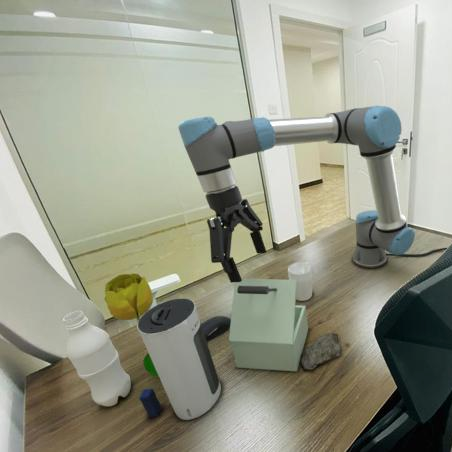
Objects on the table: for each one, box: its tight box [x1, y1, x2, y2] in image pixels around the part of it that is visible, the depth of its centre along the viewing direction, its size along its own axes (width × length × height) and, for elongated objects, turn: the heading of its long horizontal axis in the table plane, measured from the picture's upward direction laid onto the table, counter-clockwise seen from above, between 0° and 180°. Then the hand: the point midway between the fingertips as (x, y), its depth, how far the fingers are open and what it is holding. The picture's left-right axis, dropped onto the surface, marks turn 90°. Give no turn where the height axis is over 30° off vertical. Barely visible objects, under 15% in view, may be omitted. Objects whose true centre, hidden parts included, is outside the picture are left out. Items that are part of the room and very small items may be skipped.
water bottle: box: [62, 310, 132, 407], centre depth 59 cm, size 7×7×25 cm
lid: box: [228, 278, 297, 344], centre depth 63 cm, size 15×17×9 cm
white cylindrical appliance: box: [136, 297, 222, 421], centre depth 57 cm, size 11×10×26 cm
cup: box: [287, 261, 314, 302], centre depth 95 cm, size 9×9×12 cm
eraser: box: [139, 388, 162, 418], centre depth 58 cm, size 2×2×7 cm
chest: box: [229, 304, 309, 372], centre depth 74 cm, size 15×17×9 cm
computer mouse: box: [201, 315, 231, 342], centre depth 78 cm, size 12×17×4 cm
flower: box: [104, 273, 159, 377], centre depth 63 cm, size 9×8×30 cm
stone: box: [300, 332, 342, 371], centre depth 72 cm, size 14×8×3 cm, turn 116°
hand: (250, 265), depth 69 cm, fingers open, 13 cm apart
